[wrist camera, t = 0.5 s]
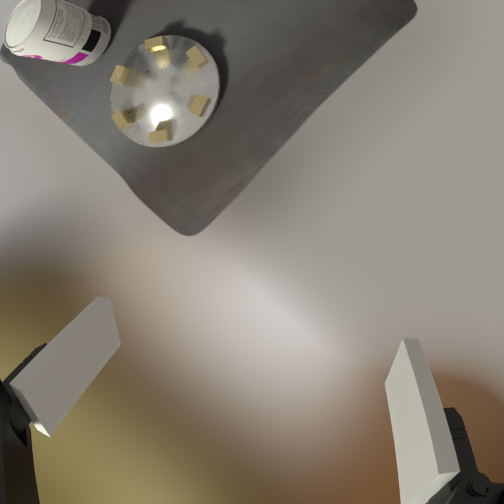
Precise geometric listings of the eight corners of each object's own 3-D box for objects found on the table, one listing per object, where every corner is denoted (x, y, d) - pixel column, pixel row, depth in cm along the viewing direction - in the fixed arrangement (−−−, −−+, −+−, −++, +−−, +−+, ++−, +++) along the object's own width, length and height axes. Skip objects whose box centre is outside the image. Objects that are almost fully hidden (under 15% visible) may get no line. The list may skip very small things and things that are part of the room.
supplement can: (84, 77, 36) (10, 66, 22) (64, 46, 34) (-5, 32, 20) (122, 38, 33) (52, 10, 19) (99, 9, 32) (34, -20, 18)
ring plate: (115, 53, 34) (103, 49, 31) (218, 28, 32) (211, 21, 29) (120, 153, 39) (108, 155, 36) (225, 140, 37) (218, 140, 34)
